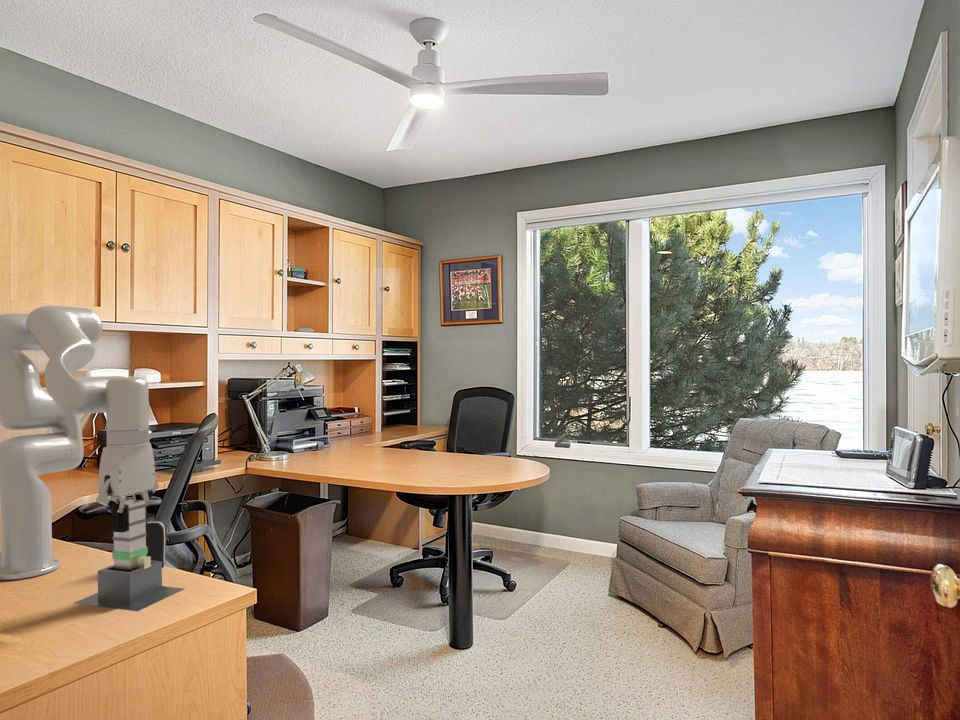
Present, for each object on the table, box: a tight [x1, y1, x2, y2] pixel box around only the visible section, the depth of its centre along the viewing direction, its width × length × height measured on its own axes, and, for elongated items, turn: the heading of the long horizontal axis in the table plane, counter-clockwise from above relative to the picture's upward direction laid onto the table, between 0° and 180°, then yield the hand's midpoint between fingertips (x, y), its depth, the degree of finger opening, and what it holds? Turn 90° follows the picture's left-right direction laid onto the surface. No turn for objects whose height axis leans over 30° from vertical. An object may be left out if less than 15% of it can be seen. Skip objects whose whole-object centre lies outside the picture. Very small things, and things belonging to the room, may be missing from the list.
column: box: [111, 499, 148, 570], centre depth 126 cm, size 4×4×13 cm
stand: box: [73, 556, 185, 612], centre depth 126 cm, size 16×12×9 cm
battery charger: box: [146, 519, 168, 569], centre depth 145 cm, size 7×4×11 cm, turn 99°
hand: (129, 527), depth 126 cm, fingers closed on column, 4 cm apart
